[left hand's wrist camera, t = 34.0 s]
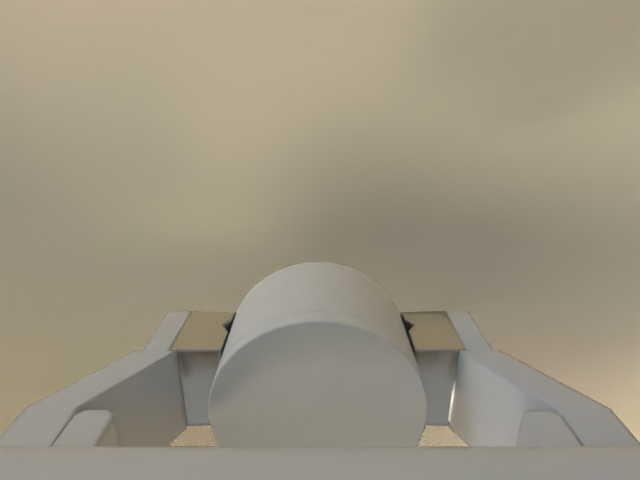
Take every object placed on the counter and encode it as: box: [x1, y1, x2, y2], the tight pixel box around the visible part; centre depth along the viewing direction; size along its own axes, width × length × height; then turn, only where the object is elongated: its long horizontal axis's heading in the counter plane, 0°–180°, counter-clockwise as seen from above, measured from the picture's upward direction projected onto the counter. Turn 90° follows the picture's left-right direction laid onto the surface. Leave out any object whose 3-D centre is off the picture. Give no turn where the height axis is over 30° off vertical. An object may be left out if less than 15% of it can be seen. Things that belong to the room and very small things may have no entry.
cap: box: [208, 262, 428, 446], centre depth 9 cm, size 4×4×2 cm
